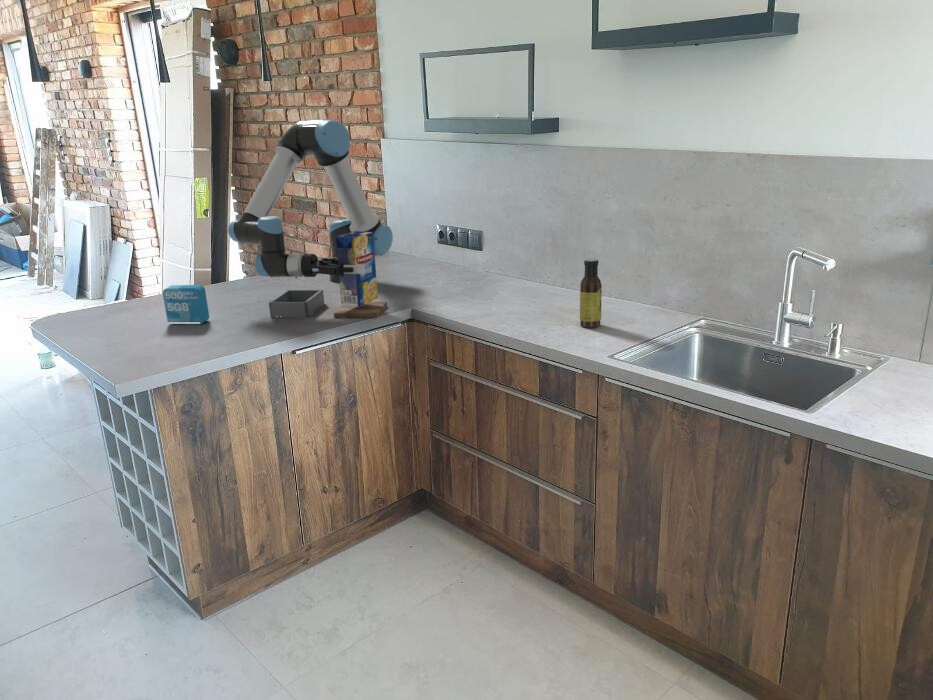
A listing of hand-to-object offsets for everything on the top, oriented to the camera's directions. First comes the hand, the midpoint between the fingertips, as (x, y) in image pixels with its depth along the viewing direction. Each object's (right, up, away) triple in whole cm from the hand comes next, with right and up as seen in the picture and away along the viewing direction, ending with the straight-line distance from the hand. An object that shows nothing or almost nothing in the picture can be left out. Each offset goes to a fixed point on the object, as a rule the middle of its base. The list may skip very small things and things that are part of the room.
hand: (369, 265), depth 228 cm
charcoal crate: (-25, -14, +10) cm, 30 cm away
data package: (-58, -19, 0) cm, 61 cm away
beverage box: (-4, -12, +5) cm, 13 cm away
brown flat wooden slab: (-3, -15, +6) cm, 16 cm away
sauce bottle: (+68, -20, -16) cm, 73 cm away
